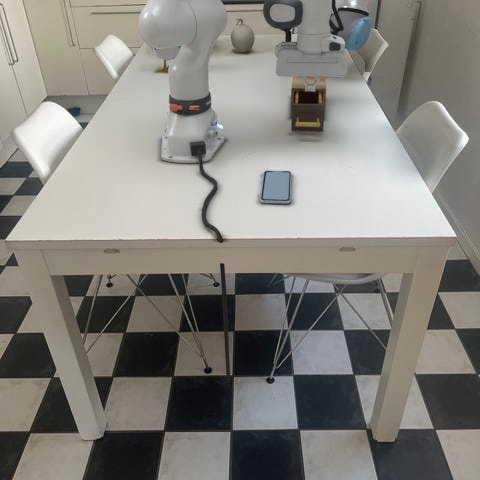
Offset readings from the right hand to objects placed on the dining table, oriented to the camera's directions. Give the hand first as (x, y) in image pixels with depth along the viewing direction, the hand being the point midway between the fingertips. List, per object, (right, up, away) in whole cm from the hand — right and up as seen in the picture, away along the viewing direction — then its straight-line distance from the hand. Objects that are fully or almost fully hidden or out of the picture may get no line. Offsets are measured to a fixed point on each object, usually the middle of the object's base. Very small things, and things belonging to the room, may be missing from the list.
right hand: (310, 52), depth 170 cm
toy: (-51, +8, +42) cm, 67 cm away
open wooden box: (0, -17, +4) cm, 18 cm away
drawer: (-2, -25, -9) cm, 27 cm away
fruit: (-22, +23, +63) cm, 70 cm away
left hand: (-3, -18, -20) cm, 27 cm away
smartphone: (-14, -49, -40) cm, 65 cm away
